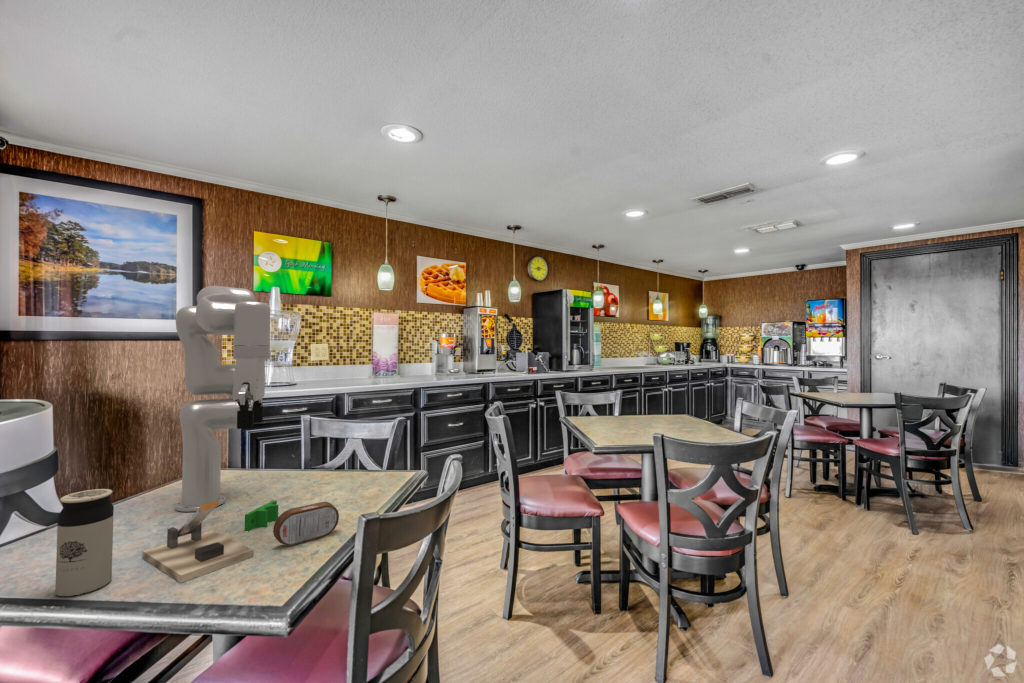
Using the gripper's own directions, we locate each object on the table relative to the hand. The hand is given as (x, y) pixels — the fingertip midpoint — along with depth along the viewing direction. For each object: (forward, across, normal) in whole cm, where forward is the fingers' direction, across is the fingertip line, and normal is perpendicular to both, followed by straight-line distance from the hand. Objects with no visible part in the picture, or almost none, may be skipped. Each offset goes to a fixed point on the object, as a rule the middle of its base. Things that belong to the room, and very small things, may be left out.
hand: (250, 425), depth 106 cm
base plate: (+29, +2, -10) cm, 30 cm away
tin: (+29, 0, +13) cm, 32 cm away
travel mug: (+29, +10, -26) cm, 40 cm away
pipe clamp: (+29, -15, +1) cm, 33 cm away
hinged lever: (+21, +2, -10) cm, 23 cm away
